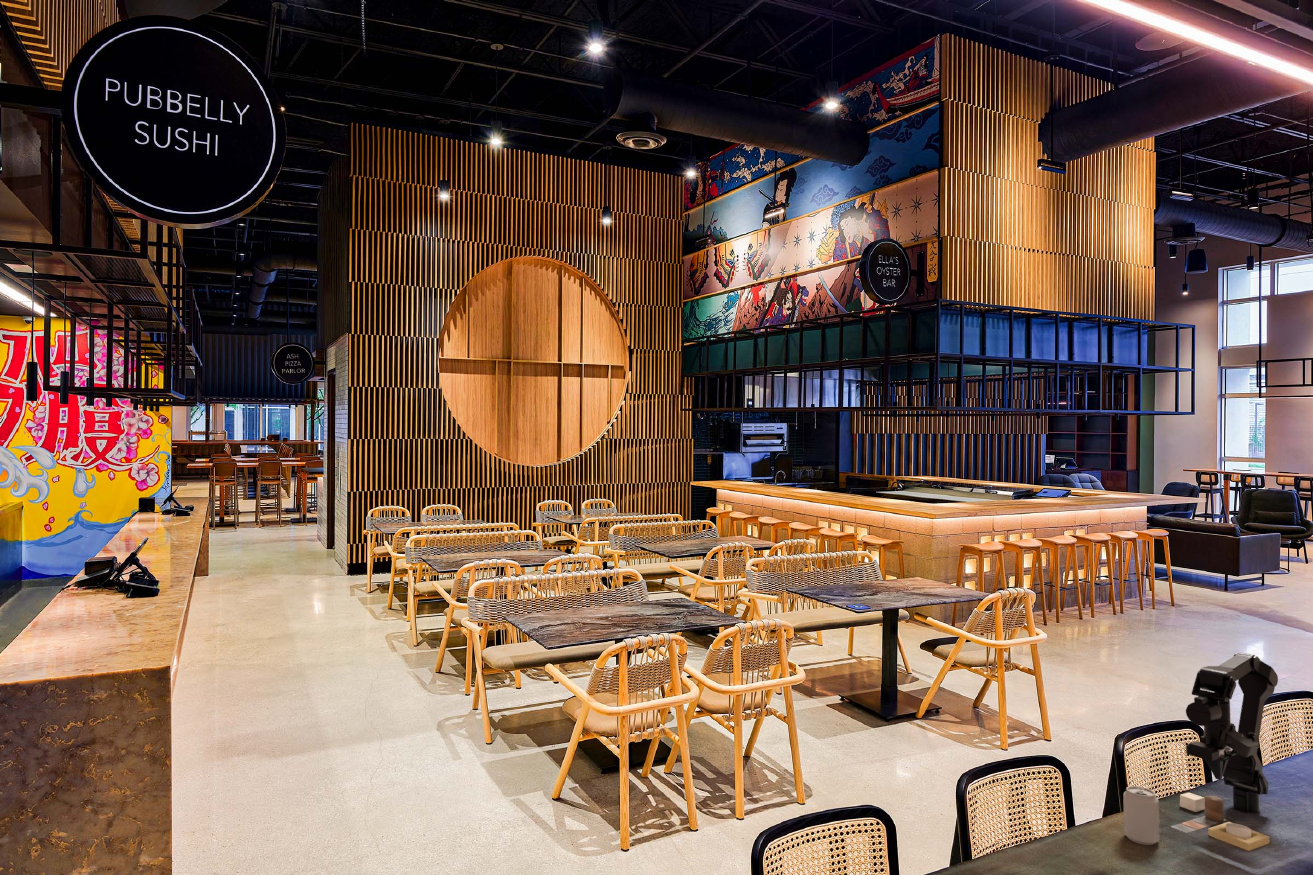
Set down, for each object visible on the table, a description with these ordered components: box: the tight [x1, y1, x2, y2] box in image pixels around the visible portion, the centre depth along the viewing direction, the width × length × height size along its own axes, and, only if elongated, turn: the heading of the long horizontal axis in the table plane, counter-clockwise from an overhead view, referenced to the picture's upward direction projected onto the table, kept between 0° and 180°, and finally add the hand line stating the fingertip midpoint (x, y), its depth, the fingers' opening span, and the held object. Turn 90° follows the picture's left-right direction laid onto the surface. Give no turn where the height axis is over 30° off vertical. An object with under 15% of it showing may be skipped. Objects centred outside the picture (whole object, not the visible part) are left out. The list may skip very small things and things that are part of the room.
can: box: [1122, 785, 1160, 846], centre depth 198 cm, size 8×8×12 cm
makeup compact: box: [1170, 815, 1227, 834], centre depth 205 cm, size 18×7×1 cm, turn 116°
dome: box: [1226, 822, 1252, 840], centre depth 196 cm, size 5×5×3 cm
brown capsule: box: [1204, 795, 1225, 823], centre depth 208 cm, size 4×4×5 cm
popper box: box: [1207, 821, 1270, 852], centre depth 196 cm, size 9×9×2 cm
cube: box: [1179, 791, 1205, 813], centre depth 215 cm, size 4×4×4 cm
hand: (1218, 779), depth 206 cm, fingers closed
